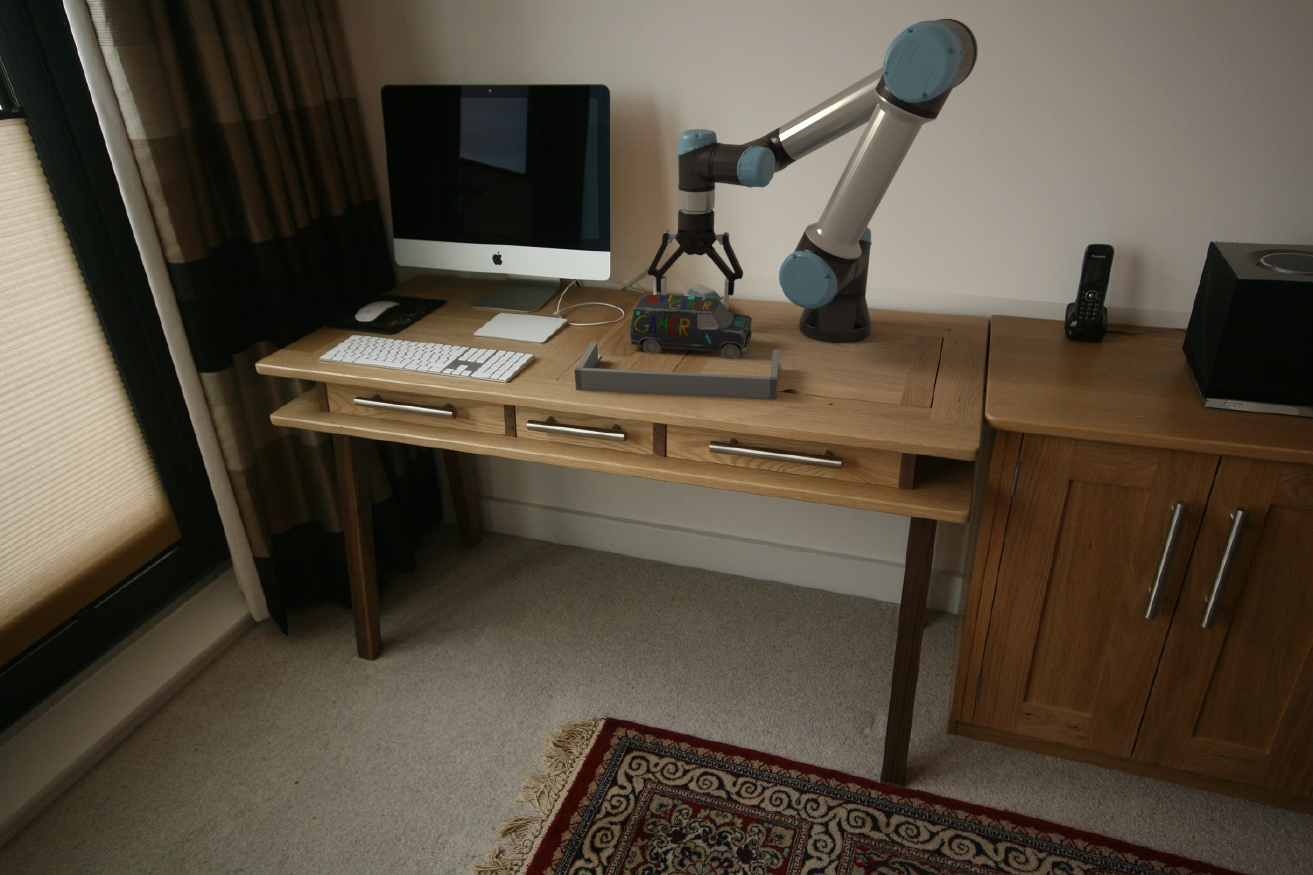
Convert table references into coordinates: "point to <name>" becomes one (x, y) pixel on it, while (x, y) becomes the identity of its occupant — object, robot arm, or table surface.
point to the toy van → (688, 325)
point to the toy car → (703, 293)
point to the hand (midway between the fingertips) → (694, 308)
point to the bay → (673, 380)
